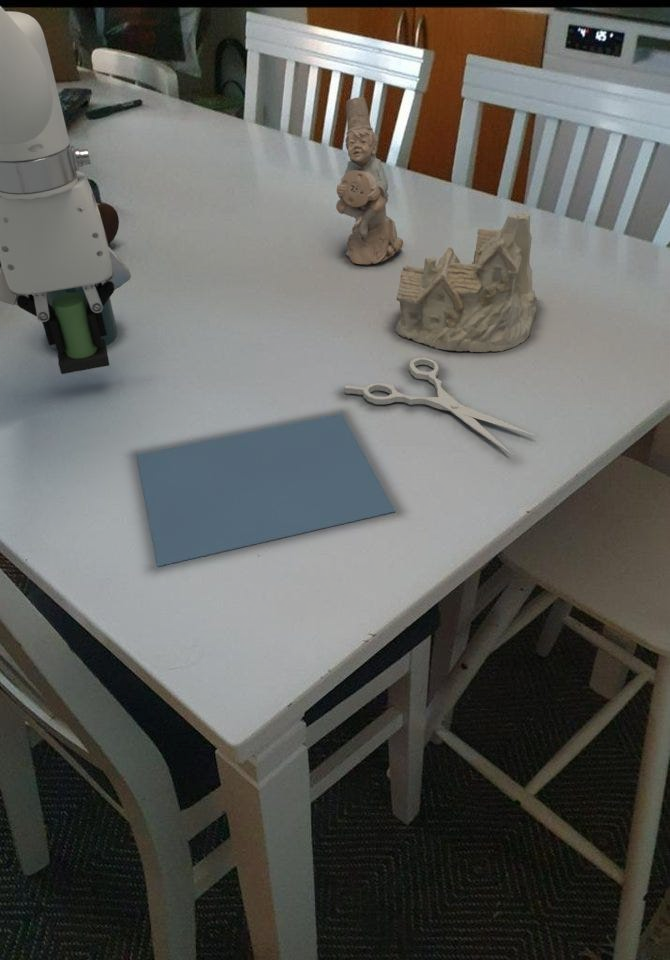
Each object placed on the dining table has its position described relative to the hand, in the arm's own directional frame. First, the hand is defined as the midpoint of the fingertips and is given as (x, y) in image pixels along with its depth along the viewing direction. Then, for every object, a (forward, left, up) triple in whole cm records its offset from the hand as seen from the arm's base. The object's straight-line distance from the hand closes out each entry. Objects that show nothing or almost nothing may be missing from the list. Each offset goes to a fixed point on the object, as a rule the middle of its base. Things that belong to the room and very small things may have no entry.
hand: (79, 343), depth 85 cm
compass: (+2, +38, -6) cm, 38 cm away
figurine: (+40, +22, -6) cm, 46 cm away
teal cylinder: (0, +12, -6) cm, 13 cm away
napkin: (+14, -22, -6) cm, 27 cm away
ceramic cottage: (+45, 0, -6) cm, 45 cm away
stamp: (0, 0, -2) cm, 2 cm away
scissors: (+35, -17, -6) cm, 39 cm away
